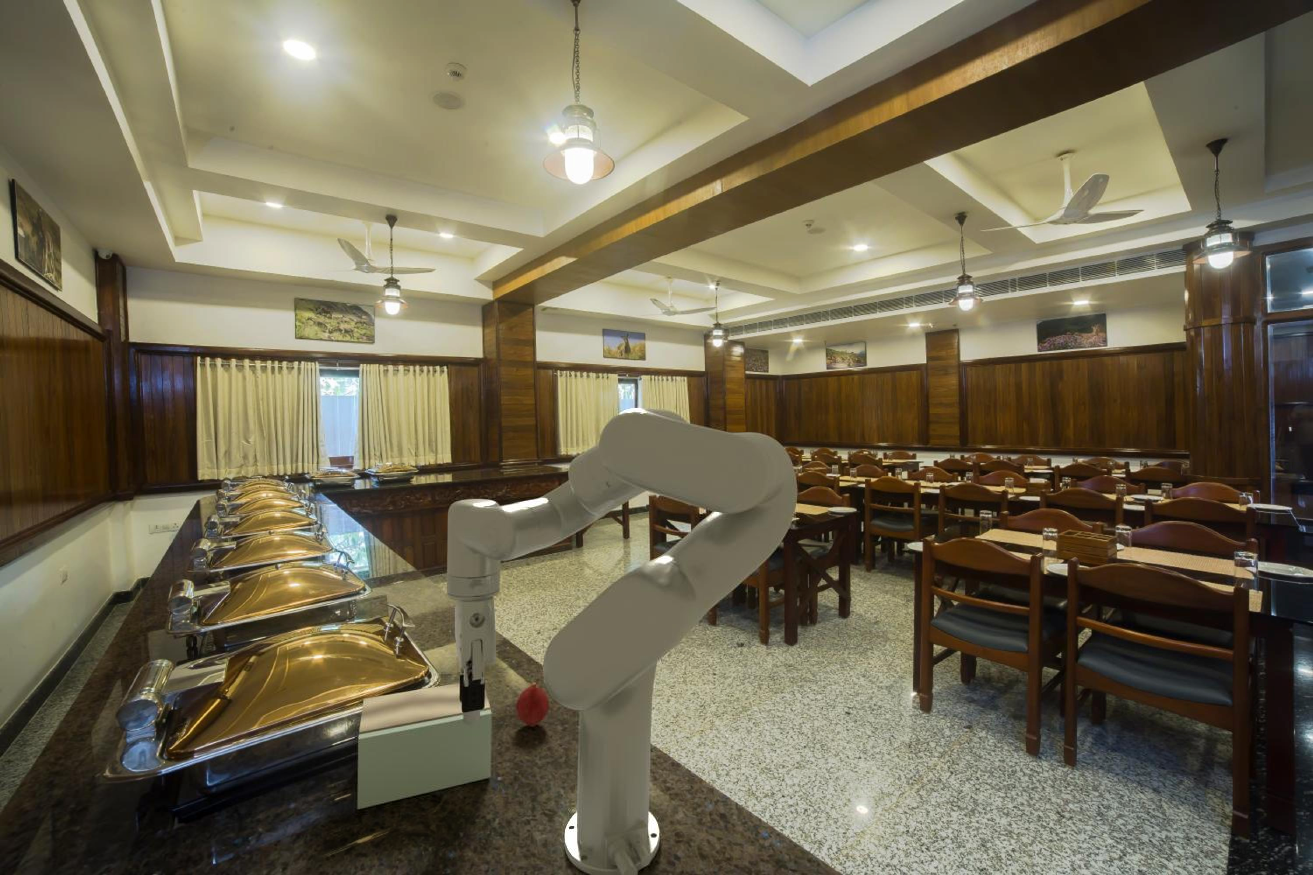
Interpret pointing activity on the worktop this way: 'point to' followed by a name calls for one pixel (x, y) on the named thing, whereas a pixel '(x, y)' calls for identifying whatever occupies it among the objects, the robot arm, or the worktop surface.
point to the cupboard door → (423, 757)
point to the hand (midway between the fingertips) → (471, 703)
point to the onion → (532, 705)
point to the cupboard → (412, 708)
